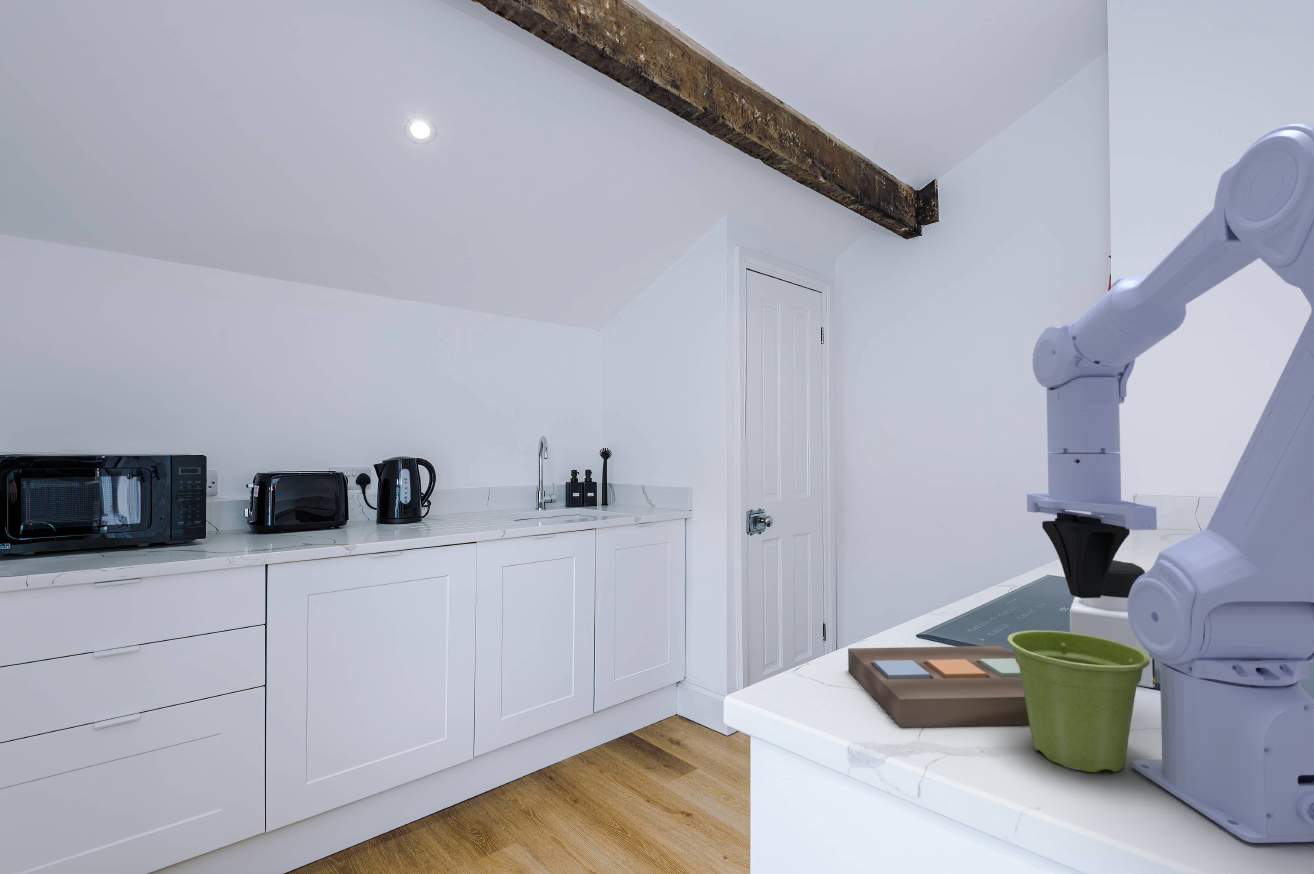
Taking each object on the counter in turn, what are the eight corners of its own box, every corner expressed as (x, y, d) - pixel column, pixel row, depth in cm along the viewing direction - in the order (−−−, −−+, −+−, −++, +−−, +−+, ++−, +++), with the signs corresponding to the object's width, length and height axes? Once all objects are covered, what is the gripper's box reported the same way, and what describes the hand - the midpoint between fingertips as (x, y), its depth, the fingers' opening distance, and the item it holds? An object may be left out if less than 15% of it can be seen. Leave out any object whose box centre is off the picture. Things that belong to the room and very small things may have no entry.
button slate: (930, 699, 60) (930, 674, 60) (889, 699, 60) (888, 674, 60) (912, 683, 64) (912, 660, 64) (874, 684, 64) (873, 660, 64)
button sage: (1043, 697, 60) (1042, 672, 60) (1002, 697, 60) (1001, 672, 60) (1018, 681, 64) (1017, 658, 64) (980, 682, 64) (979, 658, 64)
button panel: (1090, 723, 55) (1089, 695, 55) (900, 727, 55) (899, 698, 55) (1000, 668, 69) (999, 645, 69) (848, 670, 69) (848, 648, 69)
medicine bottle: (1155, 689, 63) (1152, 570, 63) (1070, 674, 67) (1068, 562, 68) (1153, 669, 69) (1150, 559, 69) (1075, 656, 73) (1073, 553, 73)
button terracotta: (986, 698, 60) (986, 673, 60) (945, 698, 60) (945, 673, 60) (965, 682, 64) (965, 659, 64) (927, 683, 64) (926, 659, 64)
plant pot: (1020, 719, 56) (1018, 623, 57) (1153, 750, 50) (1150, 642, 51) (998, 759, 49) (996, 649, 49) (1151, 801, 43) (1148, 675, 43)
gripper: (998, 452, 67) (1000, 580, 66) (1097, 454, 52) (1100, 618, 52) (1063, 451, 67) (1065, 579, 67) (1180, 454, 52) (1183, 616, 52)
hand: (1085, 596), depth 59 cm, fingers closed
